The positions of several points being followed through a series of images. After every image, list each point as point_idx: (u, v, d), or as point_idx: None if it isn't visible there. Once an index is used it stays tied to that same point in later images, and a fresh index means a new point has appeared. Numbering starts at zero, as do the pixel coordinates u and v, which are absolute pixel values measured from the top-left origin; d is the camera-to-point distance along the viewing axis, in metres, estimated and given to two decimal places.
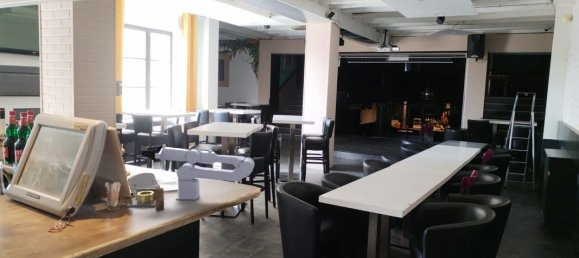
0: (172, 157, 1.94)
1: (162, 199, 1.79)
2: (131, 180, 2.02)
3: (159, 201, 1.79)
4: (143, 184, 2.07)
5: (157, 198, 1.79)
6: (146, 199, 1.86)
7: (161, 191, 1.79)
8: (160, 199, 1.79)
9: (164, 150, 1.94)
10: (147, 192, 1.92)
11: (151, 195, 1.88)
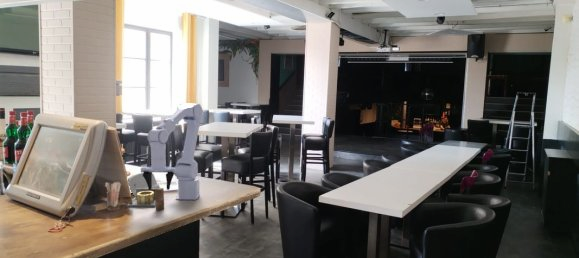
0: (165, 157, 1.78)
1: (162, 199, 1.79)
2: (131, 180, 2.02)
3: (159, 201, 1.79)
4: (143, 184, 2.07)
5: (157, 198, 1.79)
6: (146, 199, 1.86)
7: (161, 191, 1.79)
8: (160, 199, 1.79)
9: (162, 167, 1.77)
10: (147, 192, 1.92)
11: (151, 195, 1.88)
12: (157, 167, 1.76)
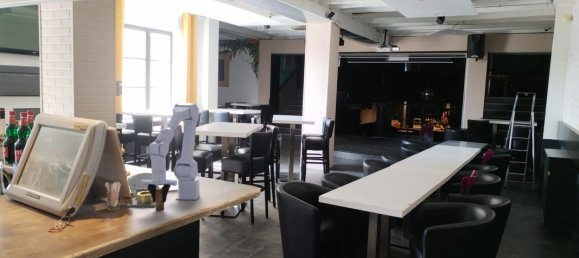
0: (165, 170, 1.79)
1: (162, 199, 1.79)
2: (131, 180, 2.02)
3: (159, 201, 1.79)
4: None
5: (157, 198, 1.79)
6: (146, 199, 1.86)
7: (161, 191, 1.79)
8: (160, 199, 1.79)
9: (162, 180, 1.77)
10: (147, 192, 1.92)
11: None
12: (157, 180, 1.76)
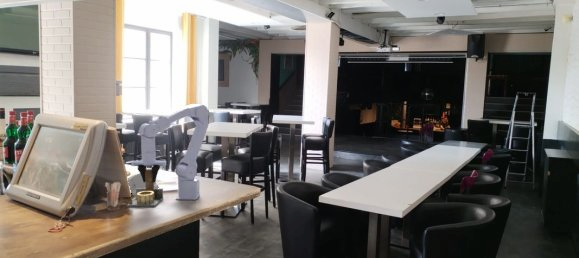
0: (153, 151, 1.83)
1: (152, 179, 1.84)
2: (130, 180, 2.02)
3: (149, 182, 1.84)
4: (142, 184, 2.07)
5: (147, 178, 1.83)
6: (146, 199, 1.86)
7: (151, 171, 1.84)
8: (150, 179, 1.84)
9: (152, 160, 1.83)
10: (147, 192, 1.92)
11: (151, 195, 1.88)
12: (147, 160, 1.81)
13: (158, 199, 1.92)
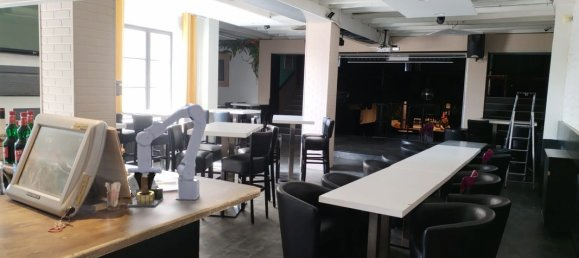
0: (147, 159, 1.85)
1: None
2: (130, 180, 2.02)
3: (145, 189, 1.87)
4: None
5: (143, 186, 1.87)
6: (146, 199, 1.86)
7: (147, 179, 1.87)
8: (146, 186, 1.87)
9: (148, 168, 1.86)
10: None
11: (151, 195, 1.88)
12: (143, 168, 1.85)
13: (158, 199, 1.92)
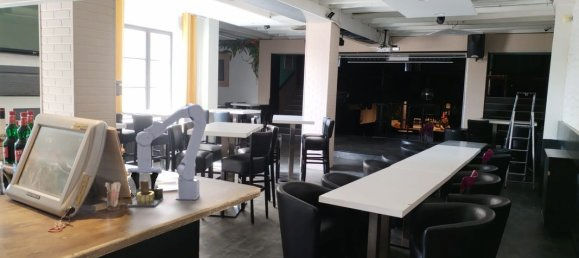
0: (147, 159, 1.85)
1: (147, 190, 1.88)
2: (130, 180, 2.01)
3: (145, 193, 1.87)
4: None
5: (143, 190, 1.87)
6: (146, 199, 1.86)
7: (146, 183, 1.87)
8: (145, 191, 1.87)
9: (148, 168, 1.86)
10: None
11: (151, 195, 1.88)
12: (143, 168, 1.85)
13: (158, 199, 1.92)
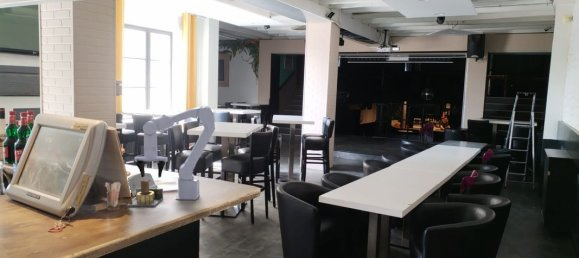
0: (152, 148, 1.90)
1: (148, 191, 1.88)
2: (130, 180, 2.01)
3: (145, 193, 1.87)
4: None
5: (143, 190, 1.87)
6: (146, 199, 1.86)
7: (147, 183, 1.87)
8: (146, 191, 1.87)
9: (154, 156, 1.91)
10: None
11: (151, 195, 1.88)
12: (149, 156, 1.90)
13: (158, 199, 1.92)
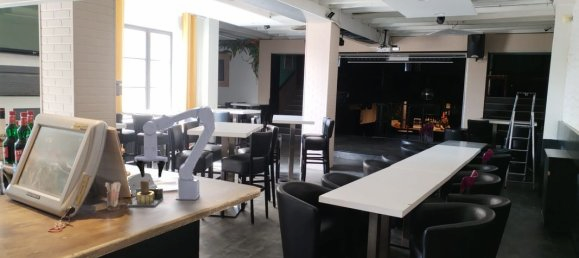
0: (152, 148, 1.90)
1: (148, 191, 1.88)
2: (130, 181, 2.01)
3: (145, 193, 1.87)
4: None
5: (143, 190, 1.87)
6: (146, 199, 1.86)
7: (146, 183, 1.87)
8: (145, 191, 1.87)
9: (154, 156, 1.91)
10: None
11: (151, 195, 1.88)
12: (149, 156, 1.90)
13: (158, 199, 1.92)
